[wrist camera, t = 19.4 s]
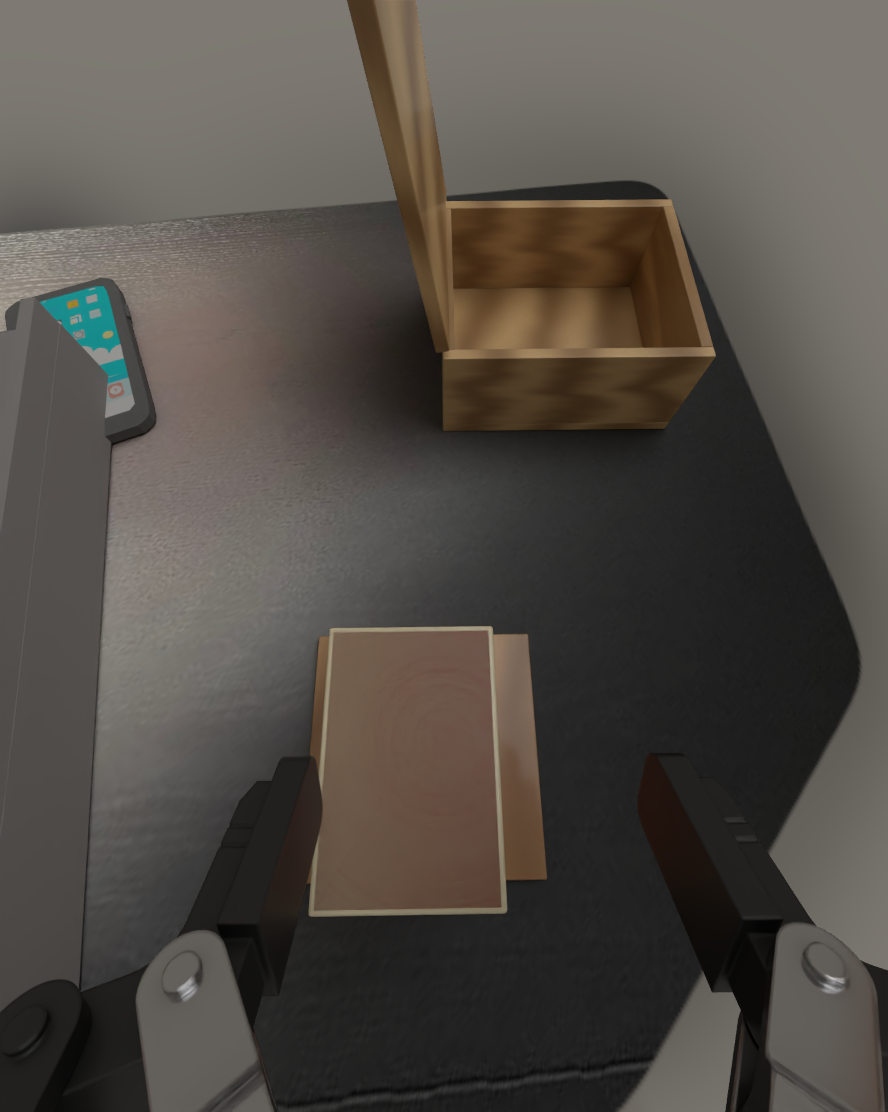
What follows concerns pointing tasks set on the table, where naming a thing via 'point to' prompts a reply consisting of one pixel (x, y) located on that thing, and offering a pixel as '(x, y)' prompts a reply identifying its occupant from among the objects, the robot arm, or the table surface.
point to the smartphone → (104, 349)
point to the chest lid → (409, 142)
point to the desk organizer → (47, 640)
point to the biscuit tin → (410, 775)
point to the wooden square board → (514, 753)
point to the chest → (569, 316)
